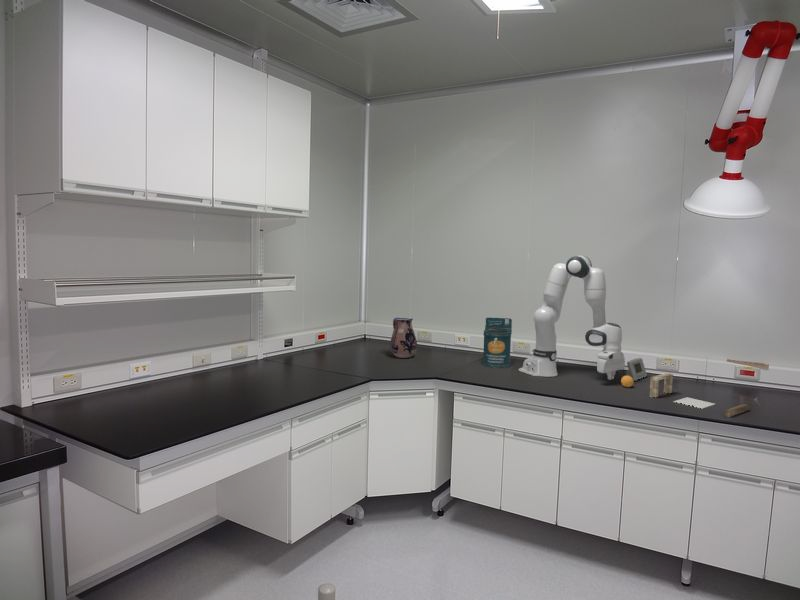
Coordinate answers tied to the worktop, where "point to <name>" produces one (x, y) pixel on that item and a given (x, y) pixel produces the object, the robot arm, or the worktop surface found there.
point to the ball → (627, 381)
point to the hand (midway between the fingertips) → (610, 379)
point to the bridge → (655, 383)
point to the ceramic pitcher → (403, 338)
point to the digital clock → (636, 369)
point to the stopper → (736, 410)
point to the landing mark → (694, 402)
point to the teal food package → (497, 342)
